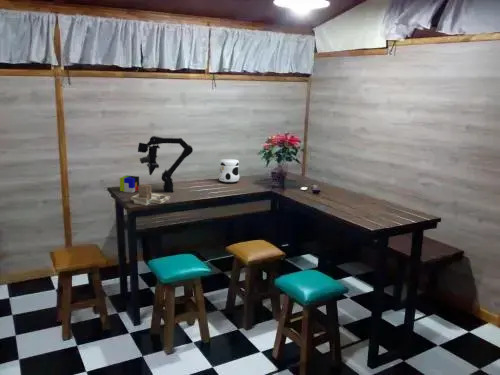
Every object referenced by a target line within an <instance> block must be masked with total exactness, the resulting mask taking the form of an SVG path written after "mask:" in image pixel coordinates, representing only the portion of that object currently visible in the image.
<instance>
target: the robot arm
mask: <svg viewBox="0 0 500 375" xmlns="http://www.w3.org/2000/svg"><path fill="white" fill-rule="evenodd" d="M161 144H171V145H172V144H175V145H176V144H179V145H180V147H182V148H183V150H182V151H181V153H180V155H179V156H178V158H177V159H176V160H175V161H174V163H173V164H172V165H171V166H170V167H169V168H168V169H164V170H163V172H162V173H161V181H162V182H163V185H162V190H163V192H164V193H174V192H175V191H174V182H173V178H172V175H173V173H174V172H175V171H176V169H178V167H179V166H180V165H181V164H182V162H183V161H184V160H185V159H186V158H187V157H189V155H191V154H192V153H193V151H194V149H193V146H192V145H190V144H188V143H187V142H186V141H185V140H184V139H183V138H182V137H161V136H157V135H152V136H150V138H149V140H148V141H147V143H145V142H139V143H138V147H137V153H142V154H143V153H144V154H147V152H148V154H147V155H146V156H143V157H140V158H139V163H140V164H145V165H146V166H147V167H148V175H149V176H152V175H153V173H154V171H155V170H156V169H159V168H160V165H159V164H158V162H157V158H158V155H157V154H158V149H161V147H160V145H161Z"/></svg>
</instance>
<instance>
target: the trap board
mask: <svg viewBox="0 0 500 375" xmlns="http://www.w3.org/2000/svg"><path fill="white" fill-rule="evenodd" d="M170 199H171V196H170V195H165V194H164V193H157V192H151V199H149V200H147V198H139V193H137V194H135V195H133V196H130V201H133V204H135V205H142V206H143V205H144V206H147V205H149V204H152V203H153V204H159V205H160V204H163V203H164V202H167V201H169V200H170Z"/></svg>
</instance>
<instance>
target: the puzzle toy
mask: <svg viewBox="0 0 500 375" xmlns="http://www.w3.org/2000/svg"><path fill="white" fill-rule="evenodd" d="M138 186H140V176H139V175H138V176H137V175H124V176H122V177H119V192H120V191H123V193H133V194H134V193H135V191H136V192H137V191H138V192H139V189H138Z"/></svg>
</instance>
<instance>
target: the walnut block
mask: <svg viewBox="0 0 500 375" xmlns="http://www.w3.org/2000/svg"><path fill="white" fill-rule="evenodd" d="M138 189H139V190H138V194H139V198H147V200H149V199H151V193H152V185H151V184H141V185H140V184H139V186H138Z"/></svg>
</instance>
